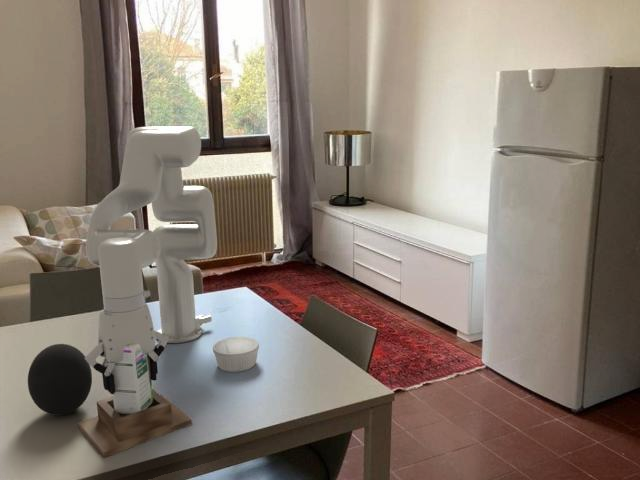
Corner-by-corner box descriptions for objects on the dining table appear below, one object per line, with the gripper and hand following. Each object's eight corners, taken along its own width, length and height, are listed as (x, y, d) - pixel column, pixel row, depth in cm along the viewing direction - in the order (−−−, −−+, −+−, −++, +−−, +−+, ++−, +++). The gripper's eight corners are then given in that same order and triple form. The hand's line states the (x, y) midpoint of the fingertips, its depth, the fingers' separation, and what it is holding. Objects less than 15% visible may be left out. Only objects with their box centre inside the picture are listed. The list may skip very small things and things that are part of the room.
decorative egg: (31, 432, 119) (21, 363, 116) (33, 404, 130) (24, 340, 127) (97, 419, 124) (89, 351, 120) (93, 393, 135) (86, 331, 131)
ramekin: (205, 365, 148) (203, 345, 147) (239, 351, 156) (238, 332, 155) (233, 379, 141) (232, 358, 140) (268, 363, 149) (267, 344, 148)
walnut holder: (161, 398, 132) (160, 377, 131) (191, 423, 122) (190, 401, 120) (79, 426, 121) (76, 404, 120) (104, 457, 110) (101, 433, 109)
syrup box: (140, 416, 117) (134, 347, 114) (113, 413, 118) (106, 345, 115) (154, 401, 122) (148, 335, 119) (127, 399, 124) (121, 333, 120)
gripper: (157, 288, 123) (164, 366, 127) (71, 307, 113) (81, 391, 117) (174, 296, 118) (180, 378, 122) (85, 317, 107) (94, 406, 111)
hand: (131, 384), depth 119 cm, fingers closed on syrup box, 8 cm apart
